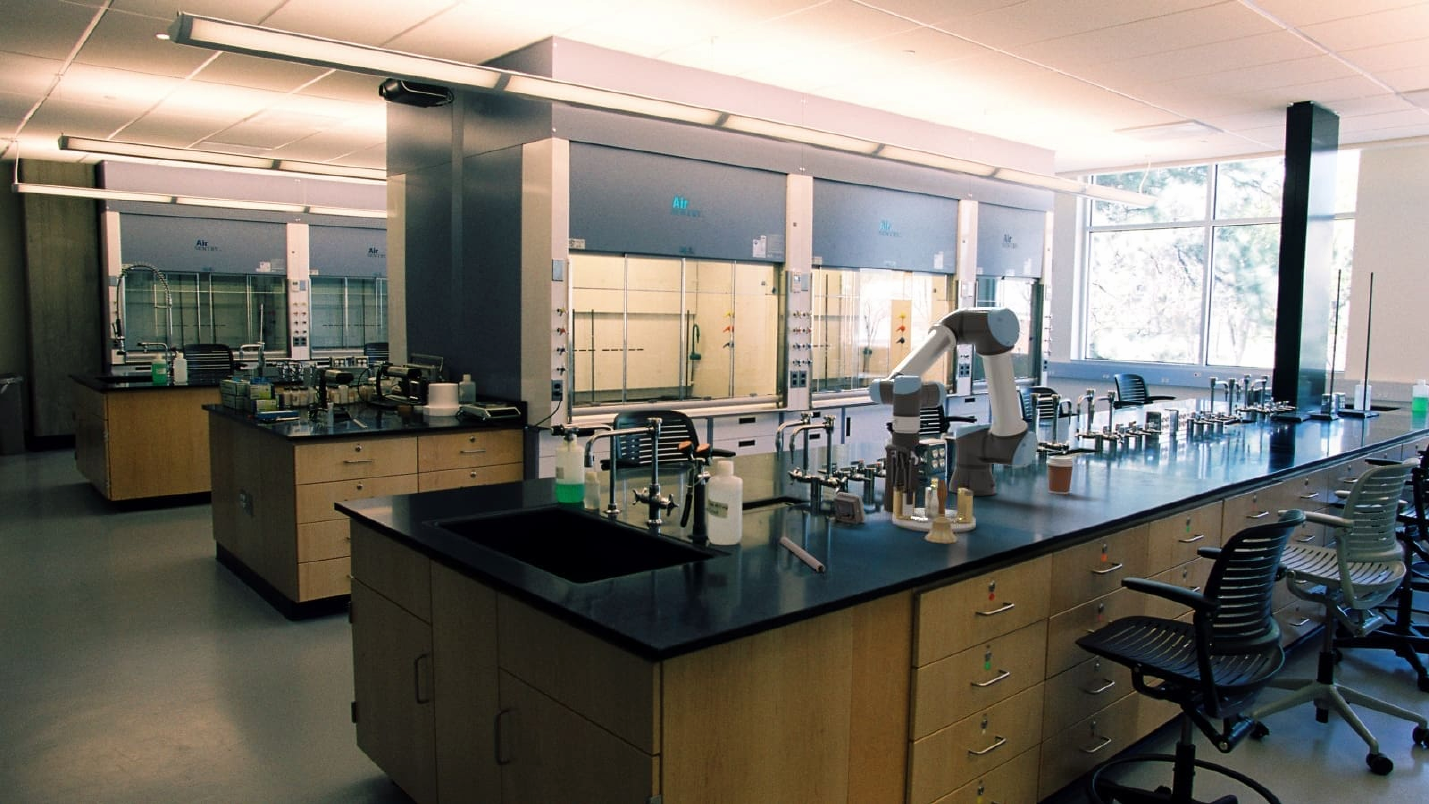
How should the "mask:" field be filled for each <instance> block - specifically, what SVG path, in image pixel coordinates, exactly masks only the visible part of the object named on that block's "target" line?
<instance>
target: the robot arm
mask: <svg viewBox="0 0 1429 804" xmlns="http://www.w3.org/2000/svg"><path fill="white" fill-rule="evenodd" d="M1020 332H1021V327H1020V321H1019V318H1018V316H1017V314H1016V313H1015V312H1014V311H1013V310H1011V309H1010V308H1009V307H1001V306H993V307H989V306H988V307H962V308H958V309H955V310H953V311H951V312H949V313H947V314H946V315H944V316H942V317H941V318H940V319H939V320H937V321H936V322H935V323H933V324H932V326H931V327H930V328H929V329H928V332H927V335H926V336H925V337H924V338H923V339H922V340H921V341H920V342H919V343H918V345H916V346H915V348H914V349H913V350H912V351H911V352H910V353H909V354H908V355H907V356H906V357H905V358H904V359H903V360H902V361H901V362H900V363H898V365H897V366H896V367H895V368H894V369H893V370H892V371H891V372H890V373H889V374H888V376H886V377H885V378H883V377H881V378H875V379H873V380H872V381H871V382H870V385H869V387H868V395H869V397H870V399H871V401H872V402H873V403H875V404H880V405H883V406H884V405H885V406H887V405H889V406H892V420H891V422H892V430H893V431H892V433H891V444H893V445H895V446H896V450H895V451H891V452H890V454H891V485H892V486H904V485H905V491H903V514H902V516H913V493H914V492H915V493H917V492H919V484H920V483H919V482H920V481H919V480H920V465H921V461H922V457H920V456H917V455H916V453H917V452H916V449H915V448H916V447H918V446H919V445H920V439H921V437H920V436H921V435H920V432H919V431H920V430H921V409H928V408H929V409H930V408H931V409H934V408H937V407H941V406H942V405H943V404H944V403H945V401H946V399H947V394H948V393H947V389H946V387H945V385H944V384H943V383H941V382H939V381H936V380H935V381H934V380H928V381H925V380H924V381H922V377H923V376H924V375H925V374H926V373H927V372H928V371H929V370H930V369H931V368H932V367H933V366H934V365H935V364H936V362H938V361H939V359H940V358H942V356H943V355H944V354H945V353H946V352H950V351H952V350H953V349H955V348H956V347H957V346H961V345H967V346H968V345H973V346H974V349H975V352H976V353H975V354H976V355H977V356H979V357H981V358H982V363H983V364H982V365H983V370H984V377H985V381H986V386H987V387H986V388H987V392H988V398H989V404H990V409H991V415H992V421H993V423H991V422H985V423H984V422H983V423H968V424H961V425H959V426H958V427H957V429H956V431H955V432H956V434H955V463H954V465H955V466H954V467H955V468H954V470H953V473H952V476H951V478H950V481H949V485H948V487H949V488H948V491H949V492H951V493H954V494H957V495H958V488H965V489H968V490H970V491H973V496H980V497H981V496H992V495H996V493H997V492H996V491H997V488H996V487H997V486H996V483H995V479H994V476H993V473H992V464H993V465H1001V466H1009V467H1010V466H1011V467H1013V468H1016V467H1018V468H1026V467H1028V466H1029V465H1030V464H1031V463H1032V462H1033V461H1034V459H1035V456H1036V454H1037V450H1038V444H1039V441H1038V435H1037V434H1036V433H1035V432H1034V431H1029V426H1028V423H1027V421H1025V420H1023V418H1022V414H1021V409H1020V402H1019V395H1018V391H1017V389H1018V388H1017V385H1016V378H1015V373H1014V366H1013V365H1014V364H1013V360H1012V354H1011V353H1012V351H1013V350H1014V349H1015V344H1017V343H1018V341H1019V340H1020Z"/></svg>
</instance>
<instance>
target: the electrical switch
mask: <svg viewBox="0 0 1429 804" xmlns="http://www.w3.org/2000/svg"><path fill="white" fill-rule="evenodd" d="M836 494H837V495H836V496H835V497H834V498H833V500H834V501H833V503H834V506H835V513H836V518H837V519H836V520H838V521H840V522H844V523H845V522H846V523H850V524H854V525H857V524H859V523H865V522H866V516H865V509H864V504H863V497H862V496H861V495H859V494H854V493H848V492H842V491H839V492H837V493H836Z"/></svg>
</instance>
